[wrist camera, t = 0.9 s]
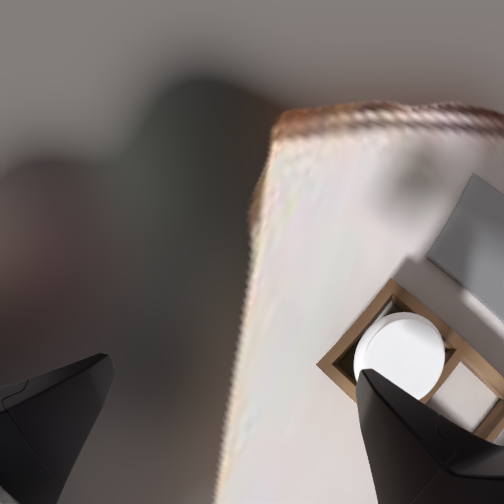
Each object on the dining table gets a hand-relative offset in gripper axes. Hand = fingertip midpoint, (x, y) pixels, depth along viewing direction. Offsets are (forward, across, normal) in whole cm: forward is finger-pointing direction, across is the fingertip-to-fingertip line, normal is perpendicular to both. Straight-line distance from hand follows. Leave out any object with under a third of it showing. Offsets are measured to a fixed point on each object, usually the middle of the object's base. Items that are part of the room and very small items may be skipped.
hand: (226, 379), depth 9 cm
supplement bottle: (+10, -11, +6) cm, 16 cm away
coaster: (+11, -21, -2) cm, 23 cm away
